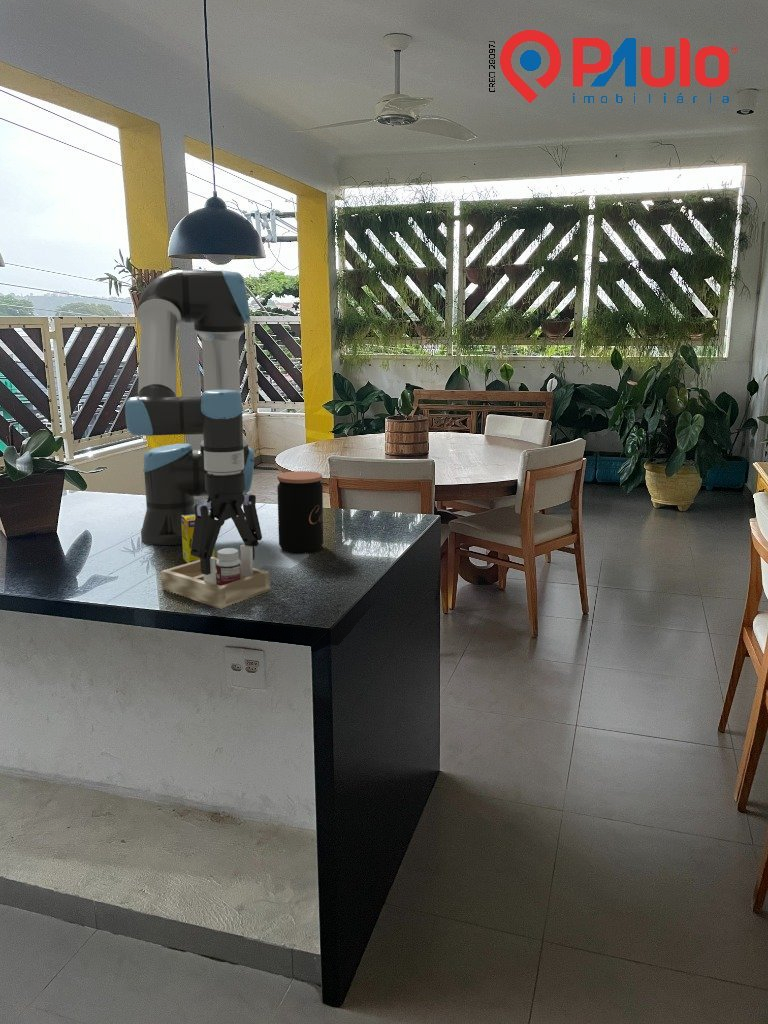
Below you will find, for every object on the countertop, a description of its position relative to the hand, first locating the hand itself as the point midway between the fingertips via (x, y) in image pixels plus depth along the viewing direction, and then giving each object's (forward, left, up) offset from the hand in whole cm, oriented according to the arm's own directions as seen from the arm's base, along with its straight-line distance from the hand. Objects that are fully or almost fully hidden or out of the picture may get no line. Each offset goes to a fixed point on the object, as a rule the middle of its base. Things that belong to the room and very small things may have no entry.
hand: (229, 582), depth 152 cm
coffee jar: (-11, +33, -3) cm, 35 cm away
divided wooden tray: (-4, 0, -2) cm, 5 cm away
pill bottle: (0, 0, -2) cm, 2 cm away
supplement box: (-21, +10, -3) cm, 24 cm away
